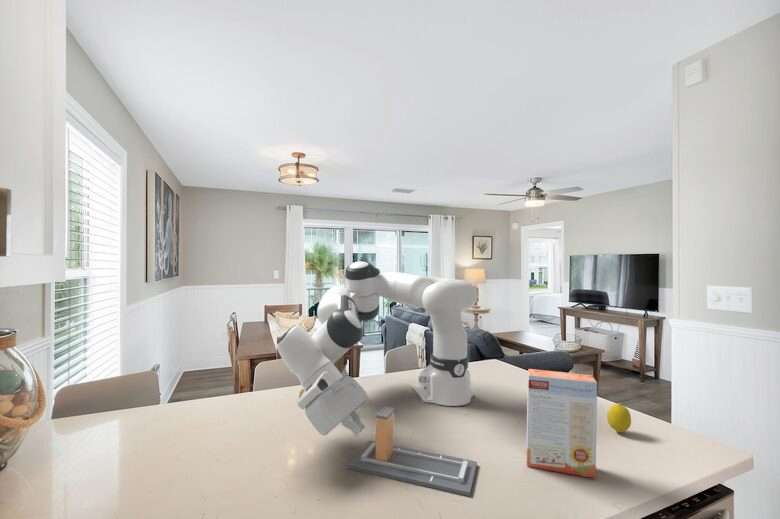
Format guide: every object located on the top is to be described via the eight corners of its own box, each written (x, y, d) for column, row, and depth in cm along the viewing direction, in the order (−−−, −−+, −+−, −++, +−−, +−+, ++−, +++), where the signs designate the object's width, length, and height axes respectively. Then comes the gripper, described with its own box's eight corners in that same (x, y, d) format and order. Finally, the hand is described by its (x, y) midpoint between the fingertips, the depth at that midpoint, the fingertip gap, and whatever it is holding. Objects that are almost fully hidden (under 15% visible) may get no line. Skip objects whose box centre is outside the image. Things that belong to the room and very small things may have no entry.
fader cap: (374, 461, 85) (375, 415, 85) (383, 450, 90) (384, 406, 90) (385, 463, 84) (386, 416, 84) (393, 452, 89) (394, 408, 89)
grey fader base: (349, 468, 83) (349, 460, 83) (370, 443, 94) (370, 436, 94) (469, 496, 75) (469, 487, 75) (476, 465, 86) (477, 457, 86)
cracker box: (591, 465, 87) (593, 374, 87) (595, 480, 81) (598, 382, 81) (525, 453, 91) (528, 366, 91) (525, 466, 86) (528, 374, 86)
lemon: (634, 438, 101) (635, 408, 101) (611, 436, 102) (612, 406, 102) (625, 429, 106) (626, 400, 106) (603, 427, 107) (604, 398, 107)
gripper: (336, 379, 102) (369, 421, 99) (292, 406, 83) (331, 460, 80) (351, 364, 101) (385, 407, 98) (311, 389, 82) (351, 443, 78)
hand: (361, 431), depth 89 cm, fingers closed
